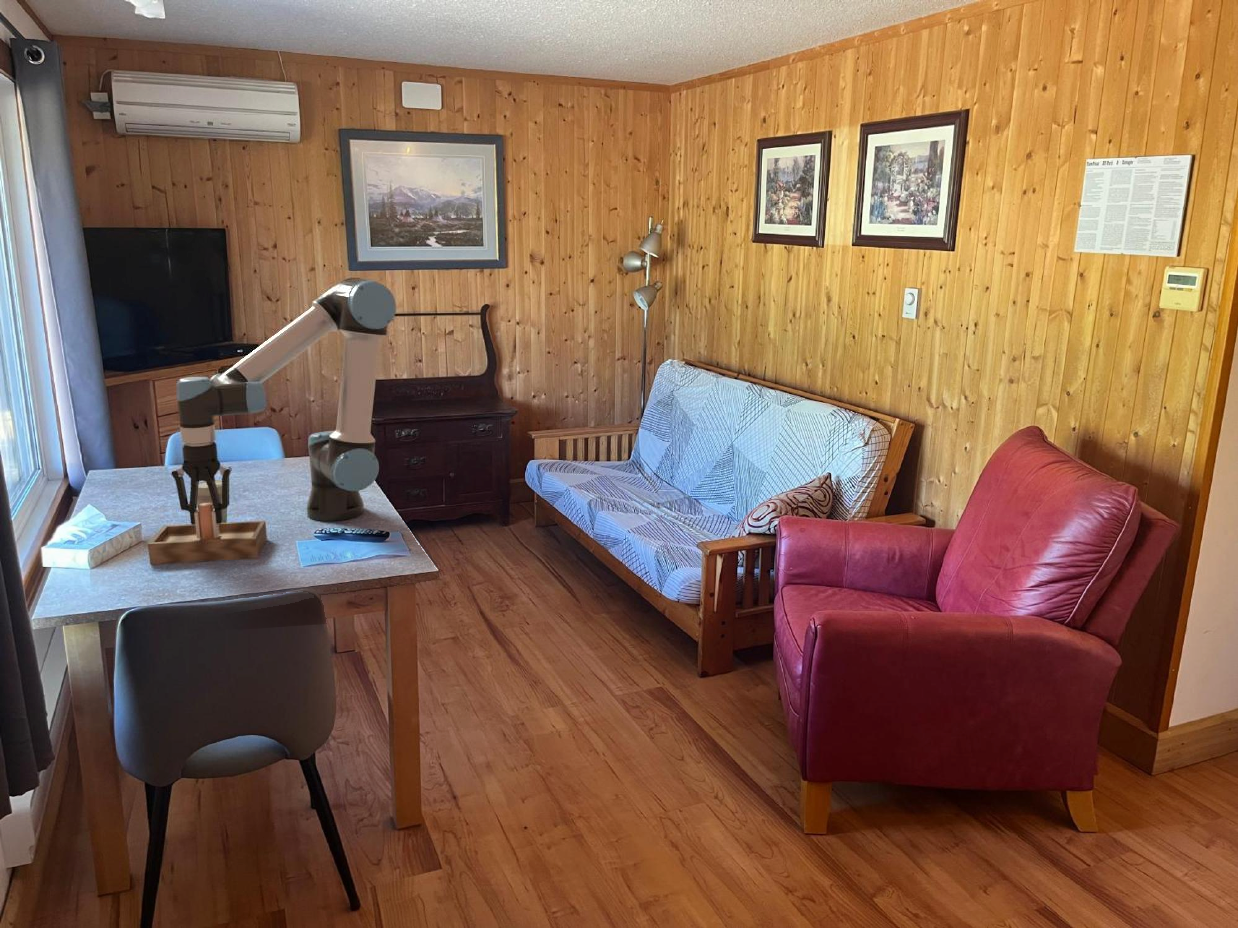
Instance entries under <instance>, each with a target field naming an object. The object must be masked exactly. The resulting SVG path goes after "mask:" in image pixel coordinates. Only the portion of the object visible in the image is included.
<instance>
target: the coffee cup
mask: <svg viewBox="0 0 1238 928" xmlns="http://www.w3.org/2000/svg"><path fill="white" fill-rule="evenodd" d="M215 483H216V487H217V490H218V494H219V498H220V501H221V503H222V480H219V479H215ZM202 503H212V505H213V502H212V499H211V495H210V492H209V488H208V485H207V483H206V481H199V485H198V498H197V508H198V505H199V504H202ZM213 510H214V506H213ZM222 518H223V520H222V522H221V523H227V522H228V507H227V508H226V509H222Z"/></svg>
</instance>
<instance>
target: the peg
mask: <svg viewBox="0 0 1238 928" xmlns="http://www.w3.org/2000/svg"><path fill="white" fill-rule="evenodd" d="M197 510H199V520H200V530H201V539H202V540H211V539H216V538H214V533H213V523H212V513H211V512H212V511H213V505H212V503H202V504H199V505H198V507H197Z"/></svg>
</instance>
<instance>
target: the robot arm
mask: <svg viewBox="0 0 1238 928" xmlns="http://www.w3.org/2000/svg"><path fill="white" fill-rule="evenodd" d="M396 311H397V304H396V299H395V297H394V294H393V293H392V292H391V290H390V289H389V288H388V287H387V286H386V285H385V284H383V283H381V282H378V281H376V280H373V279H363V278H358V277H348V278H345V279H342V280H340V281H338V282H337V283H336V284H334V285H333V286H330V288H328V289H327V290H326V291H325V292H324V293H322V294H320V296H318V297H317V298H315V299H314V300H313V301H312V302H311V308H309V309H308V310H306V311H305V312H304V313H303V314H301V315H299V316H298V317H297V318H296V319H295V320H293V321H291V323H289V324H288V325H286V326H285V327H283V328H282V329H281V330H280V331H278V332H277V333H276V334H274V335H273V336H271V337H270V338H269V339H267V340H266V341H265V342H263V343H262V344H261V345H260V346H258V347H257V348H256V349H254V350H253V351H252V352H250V353H249V354H248V355H246V356H244V358H242V359H240V360H239V361H238V362H237V363H235V364H234V365H233V366H231V367H230V368H228V369H227V370H226V371H224V372H222V373H217V374H215V375H212V376H211V377H210V378H209V377H206V376H187V377H182V378H180V379H179V380H177V381H176V400H177V401H176V402H177V409H178V418H179V420H178V421H179V428H180V429H179V430H180V439H181V443H182V446H181V450H182V458H183V459H182V460H183V462H182V465H181V467H178V468H175V469H173V470H172V471H171V476H172V477H173V479H174V481H175V486H176V491H177V495H178V500H179V506H180V510H182V511H185V512H188V513H189V518H190V524H192V525H196V535H197V539H200V538H201V530H200V520H199V510H198V507H197V498H198V485H199V483H200V482H203V481H206V483H207V485H208V488H209V492H210V495H211V499H212V502H213V506H214V510H213V511H212V512H211V513H212V523H213V533H214V538H217V537H218V536H219V534H220V533H219V524H220V523H221V522H222V520H223V518H222V509H226V508H227V509H228V507H229V505H230V476H231V473H232V471H233V468H232V467H231V466H227V467H226V466H223V465H222V464H221V462H220V460H219V458H218V449H217V448H218V447H217V446H218V445H217V443H216V442H215V441H216V439H217V437H216V436H217V435H216V427H215V417H221V416H222V417H223V416H235V415H244V414H249V415H252V414H255V413H260V412H264V410H265V409H266V405H267V397H266V396H267V395H266V390H265V387H264V385H263V382H265V381H266V380H268V379H269V378H270V377H272V376H273V375H274V374H276V373H277V372H278V371H280V370H281V369H282V368H284V367H285V366H286V365H288V364H289V363H290V362H292V361H293V360H294V359H295V358H297V357H298V356H299V355H301V354H302V353H304V352H305V351H306V350H307V349H309V348H310V347H312V346H313V345H314V344H315V343H317V342H318V341H319V340H321V339H322V338H324V337H325V336H326V335H328V334H329V333H330V332H335V333H336V332H338V331H340V333H341V334H342V335H343V336H344V345H343V355H342V356H343V359H342V367H341V379H340V388H339V396H338V397H339V398H338V408H337V417H336V427H335V430H327V431H326V430H325V431H321V432H314V433H312V434H310V435H309V436H308V438H307V439H308V445H307V447H308V455H309V467H310V481H311V490H310V494H309V496H308V497H309V498H308V500H307V505H306V515H307V517H308V518H309V519H312V520H315V521H326V522H332V521H334V522H335V521H336V522H337V521H344V520H350V519H353V518H357V517H359V516H361V515H362V514H363V513H364V512H365V504H364V501H363V498H362V496H361V494H360V491H362V490H366V489H367V488H369V486H371V485H372V484H373V483H374V481H376V479H377V476H378V475H379V471H380V466H379V464H380V463H379V460H378V459H377V457H376V455H375V445H376V439H375V438H374V436H373V435H372V434H371V433H372V432H371V429H372V427H371V426H372V417H373V407H374V397H375V390H376V380H377V372H378V371H377V370H378V362H379V361H378V360H379V351H380V350H379V349H380V343H381V342H382V340H383V339H385V338H386V337H387V333H388V325H389V324H390V323H391V322H392V321H393V320H394V318H395V316H396ZM218 471H219V472H220V473H219V474H220V476H222V477H221V481H222V503H221V501H220V498H219V494H218V490H217V487H216V483H215V480H216V478H215V476H216V475H217V473H218ZM185 474H186V475H187V476H188V477H189V478H190V491H189V492H190V493H189V500H188V494H187V490H186V484H185V480H184V476H185Z"/></svg>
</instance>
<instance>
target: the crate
mask: <svg viewBox="0 0 1238 928" xmlns="http://www.w3.org/2000/svg"><path fill="white" fill-rule="evenodd" d="M219 533H220V534H219V536H218V537H217V538H216V539H211V540H202V539H201V538H200V539H197V535H196V525H192V524H191V523H189V524H187V523H186V524H169V525H168V524H167V525H163V526H162V527H161V528H160V529H159V530H158V532H157V533H156V534H155V535H154V536H153V537H152V538H151V540H150V541H149V542H148V543H147V550H148V557H149V564H150V565H157V564H158V565H159V564H173V563H174V564H175V563H193V562H212V561H213V562H214V561H228V560H229V561H230V560H231V561H232V560H247V559H248V560H251V559H252V560H253V559H258V557H259V556H260V554H261V553H262V550H263V548H264V546H265V544H266V542H267V540H268V537H267V534H268V533H267V525H266V520H252V521H251V520H249V521H230V522H229V521H227V523H220V524H219Z"/></svg>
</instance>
